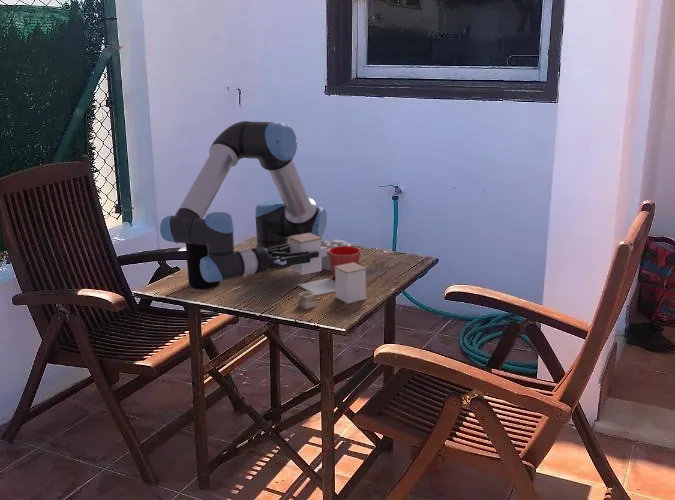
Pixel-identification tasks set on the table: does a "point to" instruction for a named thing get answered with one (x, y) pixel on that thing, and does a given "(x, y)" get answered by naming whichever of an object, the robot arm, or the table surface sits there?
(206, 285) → the coffee jar
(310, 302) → the open box
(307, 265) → the cover canister
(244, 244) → the table surface
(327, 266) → the lumpy-topped squat cylinder
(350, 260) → the flower pot
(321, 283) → the felt mat
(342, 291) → the empty canister
